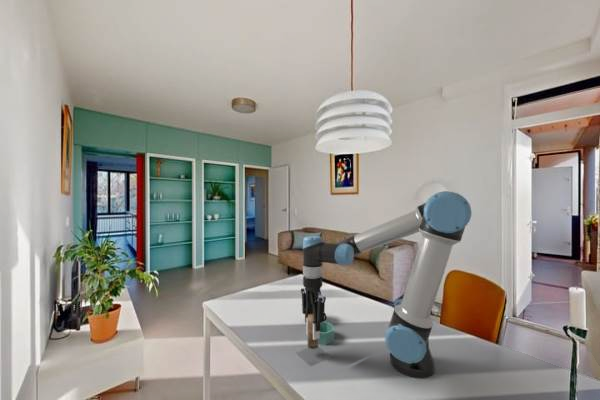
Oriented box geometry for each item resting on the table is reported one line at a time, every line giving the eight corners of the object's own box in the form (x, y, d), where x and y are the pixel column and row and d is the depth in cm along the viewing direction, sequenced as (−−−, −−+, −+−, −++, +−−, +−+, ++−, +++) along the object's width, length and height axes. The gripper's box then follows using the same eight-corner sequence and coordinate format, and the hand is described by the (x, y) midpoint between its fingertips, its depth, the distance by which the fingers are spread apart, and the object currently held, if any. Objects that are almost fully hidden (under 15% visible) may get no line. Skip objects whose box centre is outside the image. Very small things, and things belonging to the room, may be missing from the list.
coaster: (331, 359, 97) (331, 356, 97) (310, 368, 92) (310, 366, 92) (315, 346, 106) (315, 344, 106) (295, 354, 100) (295, 352, 100)
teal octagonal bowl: (338, 341, 110) (338, 328, 110) (319, 349, 104) (319, 335, 104) (323, 331, 118) (323, 319, 118) (304, 337, 113) (304, 325, 113)
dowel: (320, 346, 98) (320, 315, 98) (311, 350, 96) (311, 318, 96) (313, 342, 101) (313, 312, 102) (305, 345, 99) (305, 314, 99)
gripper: (334, 279, 94) (334, 343, 94) (308, 269, 108) (308, 325, 108) (318, 283, 90) (318, 349, 90) (293, 272, 104) (293, 329, 104)
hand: (312, 336), depth 99 cm, fingers closed on dowel, 4 cm apart
